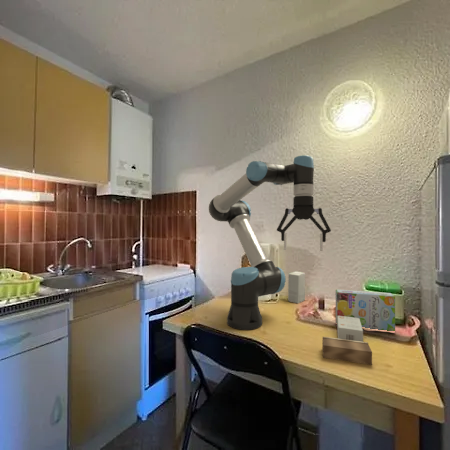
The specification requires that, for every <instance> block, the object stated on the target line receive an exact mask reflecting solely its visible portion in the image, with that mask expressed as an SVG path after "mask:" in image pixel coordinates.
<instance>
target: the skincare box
mask: <svg viewBox="0 0 450 450" xmlns="http://www.w3.org/2000/svg"><path fill="white" fill-rule="evenodd" d="M287 281H288V283H287V284H288V286H287V287H288V289H287V290H288V293H287V297H288V298H287V299H288V302H290V303H294V304H300V303H302V302H304V301H305V300H306V272H303V271H296V270H295V271H293V272H290V273H288V280H287Z"/></svg>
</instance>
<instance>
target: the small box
mask: <svg viewBox="0 0 450 450" xmlns="http://www.w3.org/2000/svg"><path fill="white" fill-rule="evenodd" d="M336 328H337V332H336V333H337V338H338V339H345V340H353V341H361V342H364V330H363V329H362V325H361V322H360V318H354V317H346V316H337V325H336Z"/></svg>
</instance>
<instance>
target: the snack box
mask: <svg viewBox="0 0 450 450" xmlns="http://www.w3.org/2000/svg"><path fill="white" fill-rule="evenodd" d="M337 316H346V317H354V318H360V322H361V325H362V327H365V328H370V329H378V330H387V331H395V332H396V296H395V295H394V294H393V293H391V292H383V291H382V292H381V291H380V292H379V291H365V290H351V289H350V290H349V289H335V324H336V323H337Z"/></svg>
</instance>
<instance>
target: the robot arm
mask: <svg viewBox="0 0 450 450" xmlns="http://www.w3.org/2000/svg"><path fill="white" fill-rule="evenodd" d="M314 169H315V165H314V158H313V156H311V155H307V154H306V155H305V154H304V155H298V156H295V157H294V158H293V162H292V163H291V164H287V165H281V164H277V163H270V162H266V161H261V160H258V161H257V160H252V161H251V162H249V163H248V166H247V167H246V168H245V174H243V175H241V177H240V178H239V179H237V180H236V181H235V182H234V183H233V184H232V185H230V186H229V187H228V188H226V190H225V191H223V192H222V193H221V194H217V195H216V196H214V197H213V198H212V199H211V200H210V201H209V202H210V203H209V204H208V213H209V214H210V215H209V216H211V218H212V219H214V220H215V221H217V222H227V223H228V225H229V227H230V228H231V229H234V231H235V234H236V235H237V237H238V240H239V242H240V245H241V246H242V248H243V250H244V253H245V255H246V258H247V259H248V262H249V264H250V266H246V267H245V266H243V267H238V268H236V269H234V270H233V271H232V273H231V276H230V277H231V278H230V286H231V287H230V300H231V301H230V308H229V310H228V314H227V317H226V324H227V326H229V327H230V328H233V329H236V330H243V331H244V330H245V331H248V330H255V329H259V328H260V327H261V326H262V325H263V316H262V313H261V310H260V308H259V307H260V306H259V297H262V296H263V297H264V296H269V295H275V294H276V293H280V292H281V291H283V290H284V288H285V285H286V275H285V272H284V270H283V269H282V268H281V267H279V266H275V264H274V261H273V260H270V259H268V257H267V255H266V253H265V251H264V248H263V247H262V245H261V242H260V240H259V239H258V237H257V235H256V232H255V231H254V228H253V226H252V224H251V223H250V221H251V215H252V212H251V211H252V209H251V205H249V203H248V202H246V201H245V200H242V199H244V198H245V197H246V196H247V195H249V194H250V193H251V192H253V191H255V189H257V188H258V187H259V186H261V185H262V184H264V183H272V184H273V185H275V186H279V185H280V186H283V185H286V184H293V200H292V201H293V204H292V205H293V207H292V208H288V207H286V208H285V211H284V214H283V217H282V218H281V221H280V222H279V223H278V227H277V228H276V231H277V232H279V233H280V237H281V242H283V250H287V244H288V243H287V240H288V237H287V235H288V233H287V232H286V231H287V230H288V229H289V228H290V226H292V224H293V223H294V222H295V221H296V220H299V221H300V220H301V221H302V220H304V221H305V220H306V221H307V220H310V221H311V222H312V223H313V224H314V225H315V226H316V228H318V229H319V231H320V232H321V233H320V234H319V238H320V239H319V252H323V246H324V245H323V244H324V243H325V242H326V238H327V236H326V235H327V233H331V231H332V229H331V228H330V225H329V224H328V221H327V220H326V218H325V216H324V214H323V209H322V207H318V208H314V196H313V195H314V188H315V187H314V173H315V170H314ZM291 213H292V214H293V215H294V216H292V218H291V219H290V220H289V221H288V223H287V224H286V225H285V226H284V224H285V222H286V220H287V219H288V216H289V215H290V214H291ZM314 213H316V214H317V215H319V218H320V220H321V222H322V224H323V225H324V228H325V229H324V228H323V226H322V225H320V223H319V222H318V221H317V220H316V218H314V217H313V214H314ZM283 226H284V227H283Z"/></svg>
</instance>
